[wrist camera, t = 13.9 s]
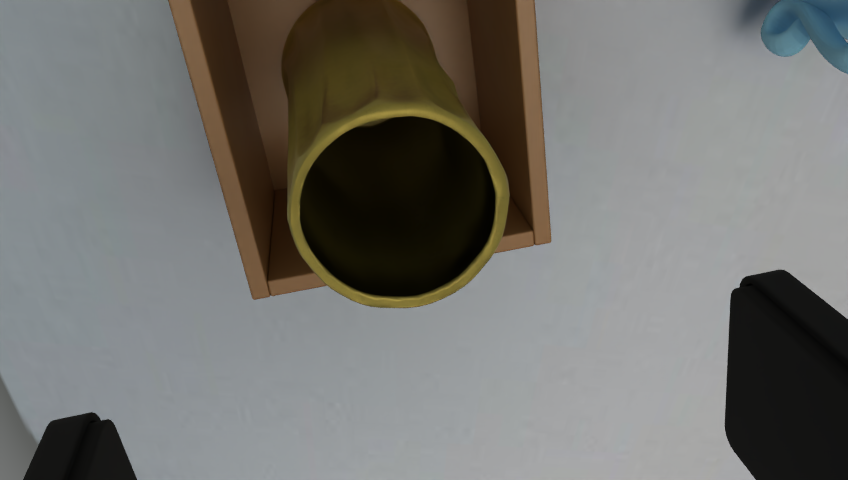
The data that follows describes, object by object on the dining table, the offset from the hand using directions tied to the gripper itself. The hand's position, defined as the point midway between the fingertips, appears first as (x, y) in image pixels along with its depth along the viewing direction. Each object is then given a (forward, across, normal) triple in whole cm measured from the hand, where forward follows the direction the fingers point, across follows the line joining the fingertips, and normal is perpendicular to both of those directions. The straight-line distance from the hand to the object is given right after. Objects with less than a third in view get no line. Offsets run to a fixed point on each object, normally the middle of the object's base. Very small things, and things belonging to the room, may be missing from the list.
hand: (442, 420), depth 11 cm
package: (+22, -1, -1) cm, 22 cm away
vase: (+22, 0, 0) cm, 22 cm away
